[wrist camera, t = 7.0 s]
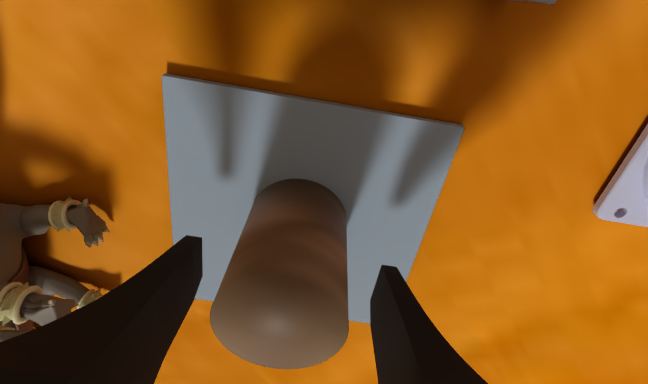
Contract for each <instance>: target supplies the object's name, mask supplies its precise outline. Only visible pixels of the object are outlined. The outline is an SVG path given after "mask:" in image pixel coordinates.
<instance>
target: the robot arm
mask: <svg viewBox="0 0 648 384" xmlns="http://www.w3.org/2000/svg"><path fill="white" fill-rule="evenodd" d="M618 209H620V210H619V211H617V210H618ZM615 211H617V212H615ZM593 213H594V214H595V215H596V216H597V217H598V218H600V219H602V220H608V221H614V222H620V223H626V224H632V225H639V226H645V227H648V124H647V126H646V127H645V129H644V130H643V132H642V133H641V135H640V136H639V138H638V139H637V141H636V142H635V144H634V145H633V147H632V148H631V150H630V151H629V153H628V155H627V156H626V158H625V159H624V161H623V162H622V164H621V165H620V167H619V168H618V170H617V171H616V173H615V174H614V176H613V177H612V179H611V180H610V182H609V184H608V185H607V187H606V188H605V190H604V191H603V193H602V194H601V196H600V197H599V199H598V200H597V202H596V203H595V205H594V207H593ZM202 276H203V264H202V237H196V236H189V235H186V236H185V237H183V238H182V239H181V240H179V241H178V242H177V243H176V244H175V245H173V246H172V247H171V248H170V249H169V250H167V251H166V252H165V253H164V254H162V255H161V256H160V257H159V258H157V259H156V260H155V261H153V262H152V263H151V264H149V265H148V266H147V267H145V268H144V269H143V270H141V271H140V272H139V273H137V274H136V275H134V276H133V277H131V278H130V279H128V280H127V281H126V282H124V283H123V284H121V285H120V286H118V287H116V288H115V289H113V290H112V291H110V292H108V293H107V294H105V295H103V296H102V297H100V298H98V299H96V300H95V301H93V302H91V303H89V304H87V305H85V306H83V307H81V308H79V309H77V310H75V311H73V312H71V313H69V314H67V315H65V316H63V317H61V318H59V319H57V320H54V321H52V322H50V323H48V324H45V325H43V326H41V327H38V328H36V329H34V330H31V331H29V332H26V333H24V334H21V335H18V336H16V337H13V338H10V339H7V340H5V341H2V342H0V384H154V382H155V379H156V377H157V374H158V372H159V369H160V367H161V364H162V362H163V360H164V358H165V355H166V353H167V351H168V349H169V347H170V345H171V343H172V341H173V339H174V337H175V336H176V334H177V332H178V330H179V328H180V326H181V324H182V322H183V320H184V318H185V316H186V314H187V312H188V310H189V308H190V306H191V304H192V302H193V300H194V298H195V296H196V293H197V290H198V288H199V285H200V282H201V279H202ZM370 324H371V332H372V340H373V347H374V354H375V361H376V368H377V375H378V384H488V383H487V382H486V381H485V380H483V379H482V378H481V377H480V376H479V375H478V374H477V373H476V372H475V371H474V370H473V369H472V368H471V367H470V366H469V365H468V364H467V363H466V362H465V361H464V360H463V359H462V358H461V357H460V356H459V354H458V353H457V352H456V351H455V350H454V349H453V348H452V347H451V345H450V344H449V343H448V342H447V341H446V340H445V338H444V337H443V336H442V335H441V333H440V332H439V331H438V330H437V328H436V327H435V326H434V324H433V323H432V322H431V320H430V319H429V317H428V316H427V315H426V313H425V312H424V310H423V309H422V307H421V306H420V304H419V303H418V301H417V300H416V298H415V296H414V295H413V293H412V292H411V290H410V288H409V287H408V285H407V283H406V282H405V280H404V278H403V277H402V275H401V273H400V271H399V270H398V268H397V267H394V266H388V265H381V268H380V271H379V274H378V278H377V281H376V284H375V287H374V290H373V293H372V296H371V299H370Z"/></svg>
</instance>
